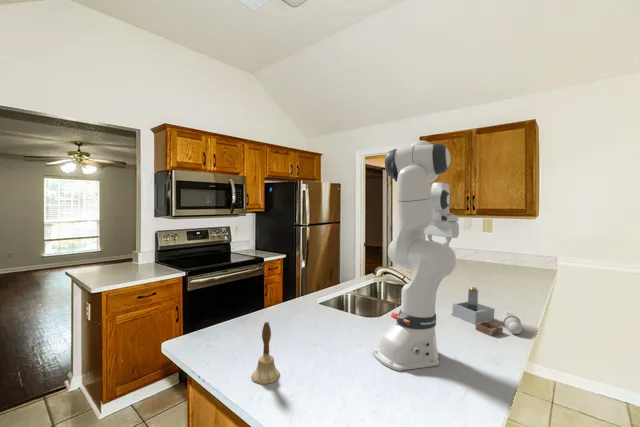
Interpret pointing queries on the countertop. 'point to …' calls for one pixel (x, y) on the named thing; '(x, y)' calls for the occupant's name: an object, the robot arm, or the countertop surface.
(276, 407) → the countertop surface
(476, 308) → the strut
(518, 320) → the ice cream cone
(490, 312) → the tub
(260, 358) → the hand bell
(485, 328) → the socket ring
